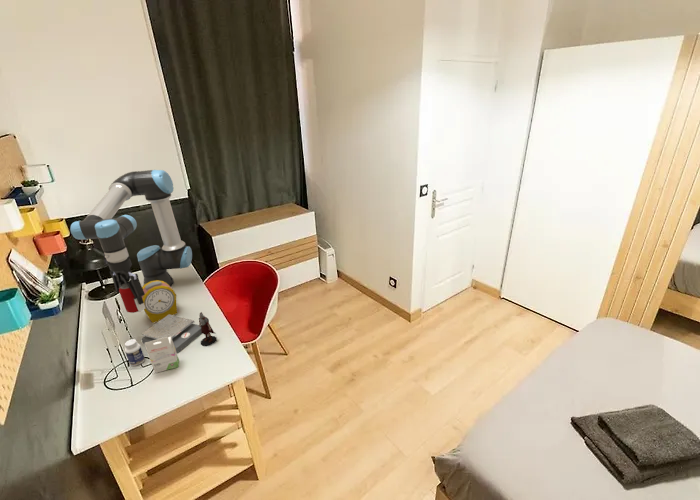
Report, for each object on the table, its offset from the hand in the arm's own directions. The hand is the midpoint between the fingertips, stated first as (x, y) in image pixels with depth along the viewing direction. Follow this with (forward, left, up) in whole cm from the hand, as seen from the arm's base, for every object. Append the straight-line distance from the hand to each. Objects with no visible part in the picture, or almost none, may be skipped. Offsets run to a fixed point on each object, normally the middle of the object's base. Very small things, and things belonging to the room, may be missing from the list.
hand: (135, 308), depth 148 cm
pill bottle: (+11, +8, -17) cm, 22 cm away
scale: (-6, +10, -17) cm, 20 cm away
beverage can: (0, 0, -1) cm, 1 cm away
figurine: (-9, +27, -17) cm, 33 cm away
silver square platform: (-6, +8, -14) cm, 17 cm away
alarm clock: (-17, -9, -17) cm, 26 cm away
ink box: (+9, +22, -17) cm, 29 cm away
